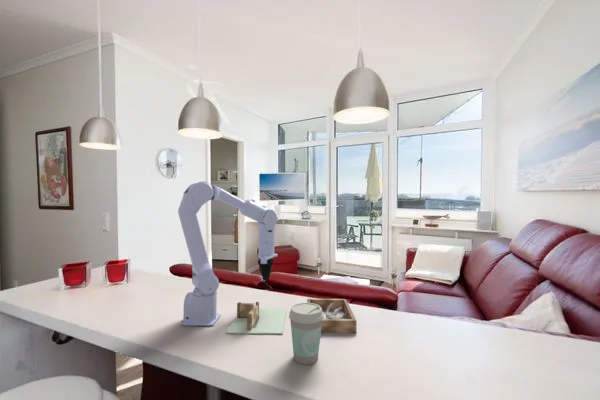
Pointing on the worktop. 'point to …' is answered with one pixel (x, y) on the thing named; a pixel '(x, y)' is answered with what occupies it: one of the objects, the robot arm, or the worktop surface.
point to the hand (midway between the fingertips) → (266, 279)
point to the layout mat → (261, 323)
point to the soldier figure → (334, 313)
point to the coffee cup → (306, 331)
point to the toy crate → (336, 324)
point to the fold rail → (252, 317)
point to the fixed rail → (245, 309)
